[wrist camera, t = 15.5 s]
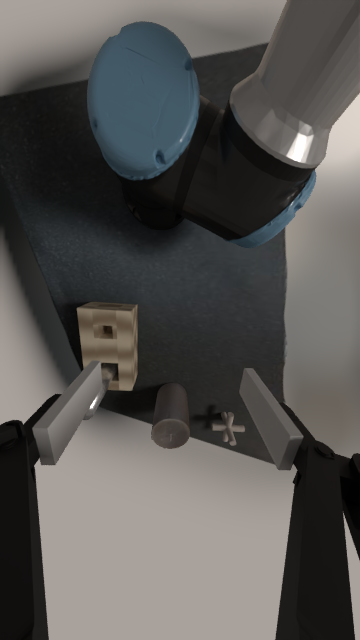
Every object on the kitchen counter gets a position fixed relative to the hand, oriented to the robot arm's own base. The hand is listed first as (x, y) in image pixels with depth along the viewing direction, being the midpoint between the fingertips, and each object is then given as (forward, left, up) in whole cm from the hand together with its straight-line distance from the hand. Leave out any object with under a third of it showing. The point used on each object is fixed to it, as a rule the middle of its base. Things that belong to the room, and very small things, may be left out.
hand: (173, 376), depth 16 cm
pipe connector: (+37, +19, -32) cm, 52 cm away
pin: (+17, -16, -30) cm, 38 cm away
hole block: (+12, -16, -32) cm, 37 cm away
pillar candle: (+30, +1, -32) cm, 44 cm away
